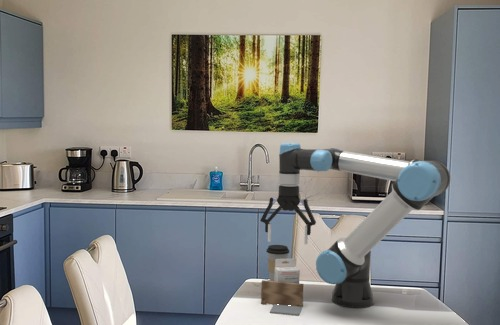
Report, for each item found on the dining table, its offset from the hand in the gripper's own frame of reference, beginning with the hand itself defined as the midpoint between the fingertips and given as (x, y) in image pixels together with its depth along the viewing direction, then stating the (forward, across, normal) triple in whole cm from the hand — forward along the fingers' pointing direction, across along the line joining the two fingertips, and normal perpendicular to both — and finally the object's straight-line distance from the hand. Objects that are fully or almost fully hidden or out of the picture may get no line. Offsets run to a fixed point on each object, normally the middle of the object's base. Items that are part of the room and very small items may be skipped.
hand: (287, 242), depth 200 cm
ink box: (+22, 0, 0) cm, 22 cm away
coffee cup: (+22, +7, -20) cm, 30 cm away
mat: (+21, -2, +12) cm, 25 cm away
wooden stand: (+21, 0, +6) cm, 22 cm away
